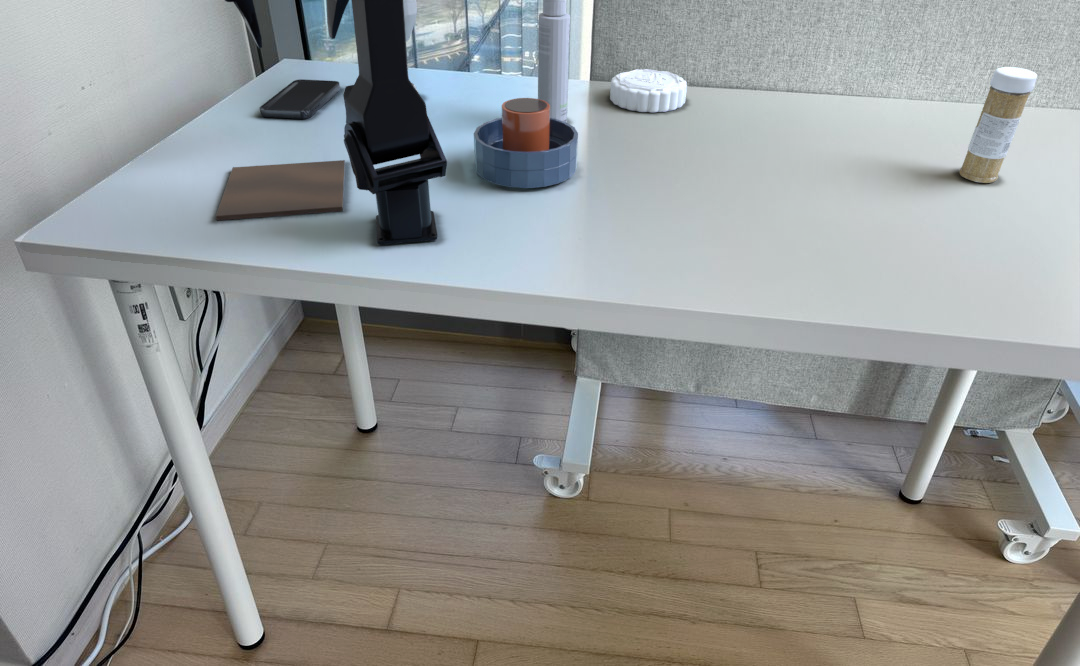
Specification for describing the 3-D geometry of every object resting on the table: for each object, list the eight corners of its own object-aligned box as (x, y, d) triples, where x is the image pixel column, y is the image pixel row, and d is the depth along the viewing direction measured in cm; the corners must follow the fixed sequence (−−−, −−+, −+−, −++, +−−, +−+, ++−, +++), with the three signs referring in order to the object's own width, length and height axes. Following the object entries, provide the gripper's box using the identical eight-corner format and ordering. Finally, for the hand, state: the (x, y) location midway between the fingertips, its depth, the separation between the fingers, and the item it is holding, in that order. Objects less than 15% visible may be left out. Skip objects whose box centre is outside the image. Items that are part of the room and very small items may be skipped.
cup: (553, 174, 95) (554, 111, 90) (506, 177, 94) (505, 114, 89) (544, 156, 100) (545, 95, 95) (499, 159, 99) (498, 98, 94)
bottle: (560, 128, 109) (564, -20, 98) (533, 124, 111) (533, -23, 99) (571, 119, 113) (576, -26, 101) (544, 115, 114) (546, -29, 103)
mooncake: (697, 97, 121) (700, 75, 119) (664, 118, 113) (666, 95, 111) (632, 84, 127) (633, 62, 125) (596, 103, 119) (597, 80, 117)
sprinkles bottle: (972, 167, 99) (1010, 63, 91) (1004, 180, 96) (1047, 73, 88) (950, 174, 97) (987, 68, 89) (982, 187, 94) (1023, 79, 86)
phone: (256, 109, 112) (295, 78, 124) (258, 116, 112) (297, 85, 124) (307, 112, 111) (341, 81, 123) (309, 119, 111) (342, 87, 124)
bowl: (586, 187, 93) (588, 149, 90) (482, 195, 91) (481, 156, 88) (564, 148, 103) (565, 112, 100) (470, 154, 101) (468, 118, 98)
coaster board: (343, 211, 87) (342, 206, 87) (216, 220, 85) (215, 216, 85) (345, 164, 98) (344, 159, 98) (233, 171, 96) (232, 167, 96)
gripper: (333, -117, 93) (345, 13, 103) (173, -111, 85) (203, 29, 95) (367, -95, 86) (376, 41, 96) (196, -87, 78) (226, 61, 88)
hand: (296, 42), depth 94 cm, fingers open, 9 cm apart
